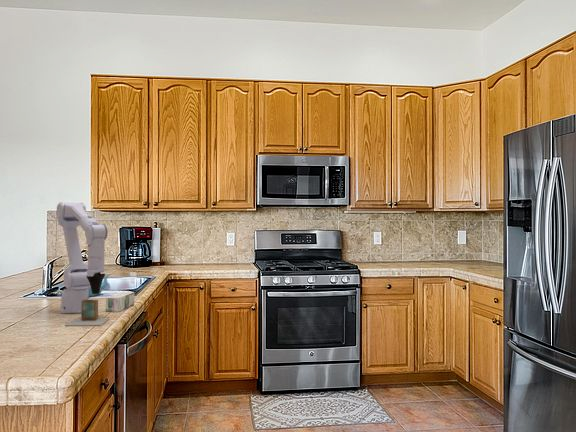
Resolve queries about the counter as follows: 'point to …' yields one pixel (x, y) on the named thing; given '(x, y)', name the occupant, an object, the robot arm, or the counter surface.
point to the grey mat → (87, 322)
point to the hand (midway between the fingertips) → (95, 293)
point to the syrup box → (119, 301)
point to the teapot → (100, 288)
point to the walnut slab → (89, 310)
